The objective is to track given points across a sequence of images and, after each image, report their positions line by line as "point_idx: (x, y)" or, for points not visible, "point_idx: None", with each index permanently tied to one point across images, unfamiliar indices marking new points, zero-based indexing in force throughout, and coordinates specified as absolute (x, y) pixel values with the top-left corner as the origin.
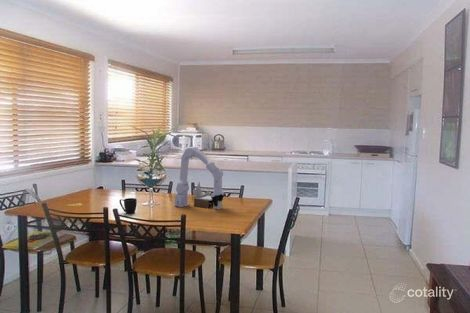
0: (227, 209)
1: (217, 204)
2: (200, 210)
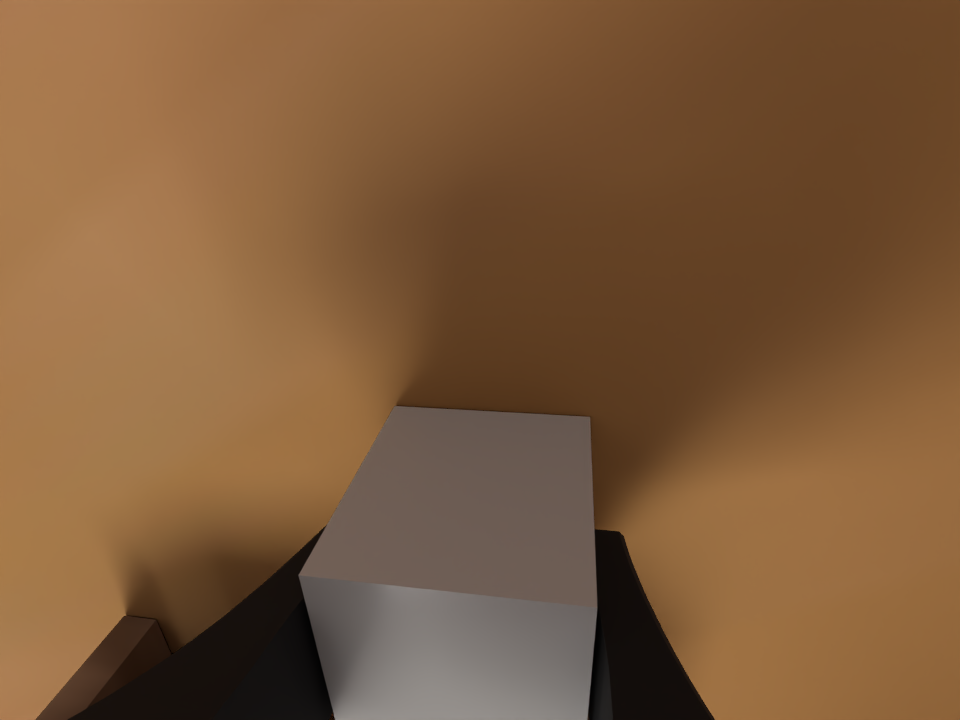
0: (431, 164)
1: None
2: (949, 716)
